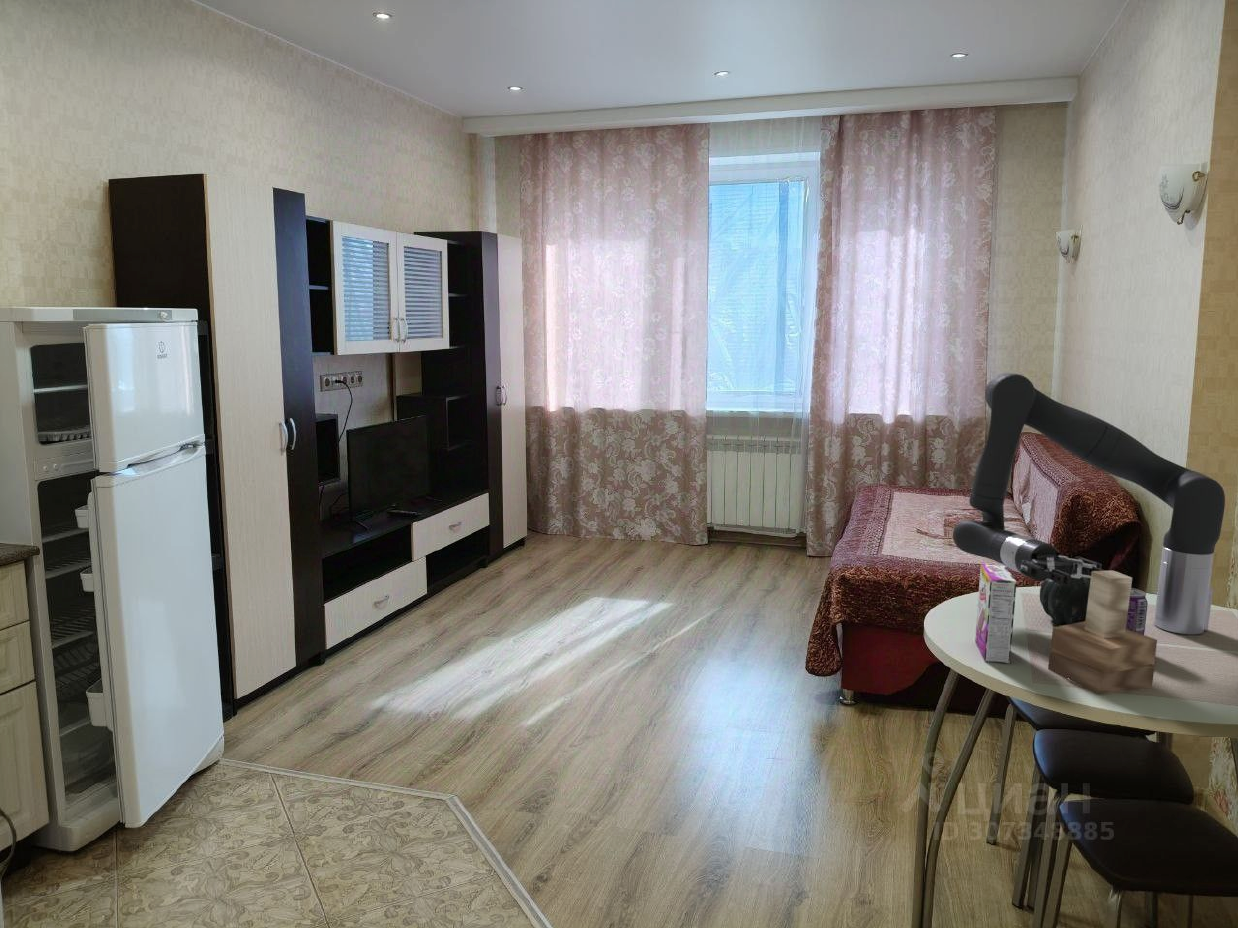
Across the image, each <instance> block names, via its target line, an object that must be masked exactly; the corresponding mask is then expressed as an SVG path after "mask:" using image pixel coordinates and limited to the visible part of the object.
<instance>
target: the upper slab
mask: <svg viewBox="0 0 1238 928" xmlns="http://www.w3.org/2000/svg"><path fill="white" fill-rule="evenodd" d="M1157 643H1158V639H1156V638H1153V637H1151V636H1147V635H1145V634H1144V635H1142V634H1139V633H1136V632H1134V631H1131V630H1128V629H1125V637H1112V638H1102V637H1100V636H1097V635H1095V634H1093V633H1091V632H1089V631H1087V630H1085V622H1079V623H1074V624H1068V625H1058V626H1052V634H1051V644H1050V649H1051V651H1053V652H1055V653H1058V654H1060V655H1063V656H1065V657H1068V658H1070V659H1073V660H1075V661H1078V662H1080V663H1083V664H1085V665H1088V666H1090V667H1092V668H1095V669H1097V670H1100V671H1102V672H1105V673H1107V674H1110V673H1115V672H1119V671H1124V670H1128V669H1133V668H1137V667H1142V666H1146V665H1151V664H1152V665H1154V664H1155V662H1156V652H1157Z"/></svg>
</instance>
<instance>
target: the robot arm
mask: <svg viewBox="0 0 1238 928" xmlns="http://www.w3.org/2000/svg"><path fill="white" fill-rule="evenodd" d="M984 398H985V402H986V404H987V406H988V407H989V409H990V424H989V429H988V434H987V438H986V441H985V444H984V447H983V450H982V453H981V456H980V458H979V460H978V463H977V467H976V469H975V472H974V477H973V481H972V486H971V491H970V495H969V501H968V502H969V505H970V506H971V508H973V509H975V510H977V511H981V512H980V513H981V515H982V520H974V519H964V520H961V521H960V522H958V523H957V524H956V525H955V527H954V529H953V532H952V539H953V542H954V545H955V546H956V547H957V548H958V549H959V550H960V551H961V552H964V553H967V554H969V555H974V556H977V557H981V558H986V559H989V560H992V561H995V562H996V563H999V564H1000V565H1003V566H1006V567H1008V568H1009V569H1010V570H1012V571H1015V572H1017V573H1020V574H1021V575H1025V576H1027V577H1029V578H1031V579H1034V580H1035V581H1038V582H1043V581H1044V580H1047V581H1049V582H1051V581H1054V582H1057V583H1059V584H1062V585H1064V586H1070V585H1071V577H1072V578H1078V579H1079V578H1081V577H1087V578H1091V573H1092V571H1106V570H1104V569H1102V566H1103V565H1102V563H1100V562H1097V561H1094V560H1090V559H1088V558H1084V557H1082V556H1075V558H1072V557H1071V558H1069V556H1066V555H1061V554H1060V552H1059V550H1058V548H1056V547H1055V545H1053V544H1051V543H1048V542H1045V541H1042V540H1039V539H1036V538H1034V537H1031V536H1027V535H1022V534H1019V533H1016V532H1013V531H1009V530H1007V529H1005V511H1004V505H1005V504H1004V503H1005V499H1006V496H1007V490H1008V487H1009V482H1010V478H1011V473H1012V467H1013V464H1014V459H1015V456H1016V451H1017V448H1018V443H1019V440H1020V437H1021V434H1022V432H1023V429H1024V426H1028V427H1030V428H1032V429H1033V430H1036V431H1037V432H1038V433H1041V434H1042V435H1044V436H1045V437H1046V438H1047V439H1049V440H1050V441H1052V442H1053V443H1055V444H1056V445H1058V446H1059V447H1060V448H1062V449H1063V450H1065V451H1066V452H1069V453H1070V454H1072V455H1073V456H1075V457H1077V458H1078V459H1080V460H1082V461H1083V462H1085V463H1088V465H1090V466H1092V467H1095V468H1096V469H1099V470H1100V471H1103V472H1105V473H1107V474H1110V475H1112V476H1115V477H1117V478H1120V479H1123V480H1126V481H1128V482H1131V483H1134V484H1135V485H1138V486H1140V487H1141V488H1143V489H1144V490H1146V491H1148V492H1149V493H1151V494H1152V495H1154V496H1155V497H1156V498H1158V499H1159V500H1161V501H1163V502H1164V503H1165V504H1166V505H1168V506H1169V507H1170V508H1171V509H1172V514H1171V520H1170V521H1171V522H1170V527H1169V529H1168V531H1167V532H1165V534H1164V536H1163V541H1162V550H1161V551H1162V552H1161V560H1160V561H1161V562H1160V567H1159V568H1160V569H1159V574H1158V575H1159V576H1158V577H1159V578H1158V586H1157V594H1156V600H1155V601H1156V602H1155V609H1154V617H1153V618H1154V619H1153V624H1154V625H1155V626H1156V627H1157V628H1159V629H1161V630H1165V631H1168V632H1172V633H1175V634H1182V635H1200V634H1203V633H1204V632H1205V631H1208V630H1209V623H1210V615H1211V607H1212V599H1213V592H1214V587H1213V586H1212V585H1211V578H1212V571H1213V561H1214V554H1215V550H1216V549H1215V548H1216V545H1217V543H1218V541H1219V539H1220V536H1221V532H1222V526H1223V525H1222V524H1223V519H1224V513H1225V508H1226V507H1225V506H1226V495H1225V491H1224V488H1223V487H1222V486H1221V485H1222V484H1220V483H1219V482H1218V481H1217V480H1215V479H1214V478H1211V477H1209V476H1207V475H1205V474H1203V473H1200V472H1199V471H1196V470H1192V469H1190V468H1187V467H1185V466H1182V465H1179V464H1177V463H1175V462H1173V461H1170V460H1168V459H1165V458H1164V457H1162V456H1160V455H1158V454H1156V453H1155V452H1154V451H1152V450H1151V449H1149V448H1148V447H1147V446H1145V445H1144V444H1143V443H1141V442H1140V441H1139V440H1138V439H1136V438H1134V437H1133V436H1132V435H1130V434H1128V433H1127V432H1125V431H1124V430H1122V429H1121V428H1118V427H1116V426H1115V425H1113V424H1111V423H1109V422H1107V421H1106V420H1103V419H1101V418H1099V417H1097V416H1095V415H1092V414H1089V413H1087V412H1085V411H1082V410H1079V409H1078V408H1074V407H1072V406H1068V405H1066V404H1063V403H1061V402H1058V401H1057V400H1054V399H1053V398H1051V397H1049V396H1048V395H1046V394H1045V393H1043V392H1042V391H1040V390H1038V389H1037V388H1035V386H1034V384H1033V382H1032V381H1031V380H1030V379H1029V378H1027V377H1026V376H1024V375H1022V374H1018V373H1012V372H1009V373H1002V374H1000V375H997V376H995V377H993V378H992V379H990V381H989V382H988V384H986V387H985V390H984ZM1074 567H1075V570H1077V574H1073V570H1074ZM1083 572H1084V573H1083ZM1086 573H1087V574H1086ZM1204 630H1205V631H1204Z"/></svg>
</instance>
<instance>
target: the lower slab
mask: <svg viewBox="0 0 1238 928" xmlns="http://www.w3.org/2000/svg"><path fill="white" fill-rule="evenodd" d="M1047 669H1048V670H1049V671H1050V672H1053V673H1055V674H1056V675H1058V674H1059V675H1058V676H1060V675H1061V676H1060V677H1062V676H1063V678H1064V677H1065V679H1066V678H1069V679H1070V680H1072V681H1074V682H1076V683H1077V685H1078V684H1079V685H1078V686H1080V685H1081V686H1080V687H1082V688H1085V689H1087V690H1088V691H1090V692H1093V693H1095V694H1097V696H1098V695H1099V696H1100V695H1106V694H1107V695H1108V694H1113V693H1120V692H1129V691H1135V690H1142V689H1147V688H1148V689H1149V688H1153V682H1154V673H1155V665H1154V664H1151V665H1146V666H1142V667H1137V668H1133V669H1128V670H1124V671H1119V672H1115V673H1110V674H1107V673H1105V672H1102V671H1100V670H1097V669H1095V668H1092V667H1090V666H1088V665H1085V664H1083V663H1080V662H1078V661H1075V660H1073V659H1070V658H1068V657H1065V656H1063V655H1060V654H1058V653H1055V652H1053V651H1051V648H1050V649H1049V657H1048V666H1047ZM1070 680H1069V681H1070ZM1072 681H1071V682H1072ZM1074 682H1073V683H1074ZM1076 683H1075V684H1076Z"/></svg>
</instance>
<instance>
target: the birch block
mask: <svg viewBox="0 0 1238 928" xmlns="http://www.w3.org/2000/svg"><path fill="white" fill-rule="evenodd" d="M1132 583H1133V577H1131V576H1130V575H1129V576H1128V575H1126V574H1123V573H1121V572H1119V571H1115V570H1105V571H1092V573H1091V581H1090V589H1089V597H1088V605H1087V613H1086V621H1085V630H1087V631H1089V632H1091V633H1093V634H1095V635H1097V636H1100V637H1102V638H1112V637H1125V629H1126V622H1127V614H1128V607H1129V599H1130V592H1131V588H1132Z"/></svg>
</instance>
